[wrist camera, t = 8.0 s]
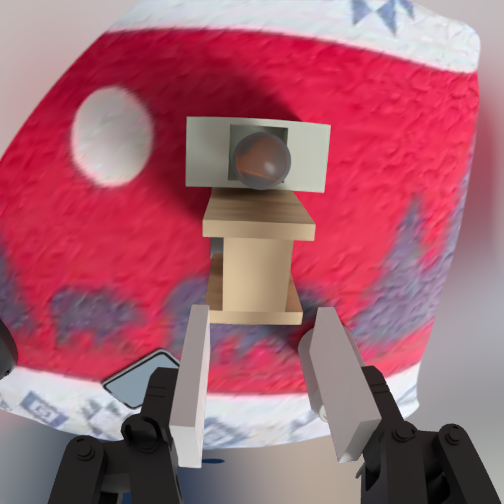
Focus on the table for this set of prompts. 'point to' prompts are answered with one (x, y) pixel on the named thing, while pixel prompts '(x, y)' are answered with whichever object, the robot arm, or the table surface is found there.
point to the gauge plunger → (261, 161)
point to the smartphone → (138, 378)
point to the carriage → (254, 255)
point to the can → (310, 373)
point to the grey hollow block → (235, 129)
